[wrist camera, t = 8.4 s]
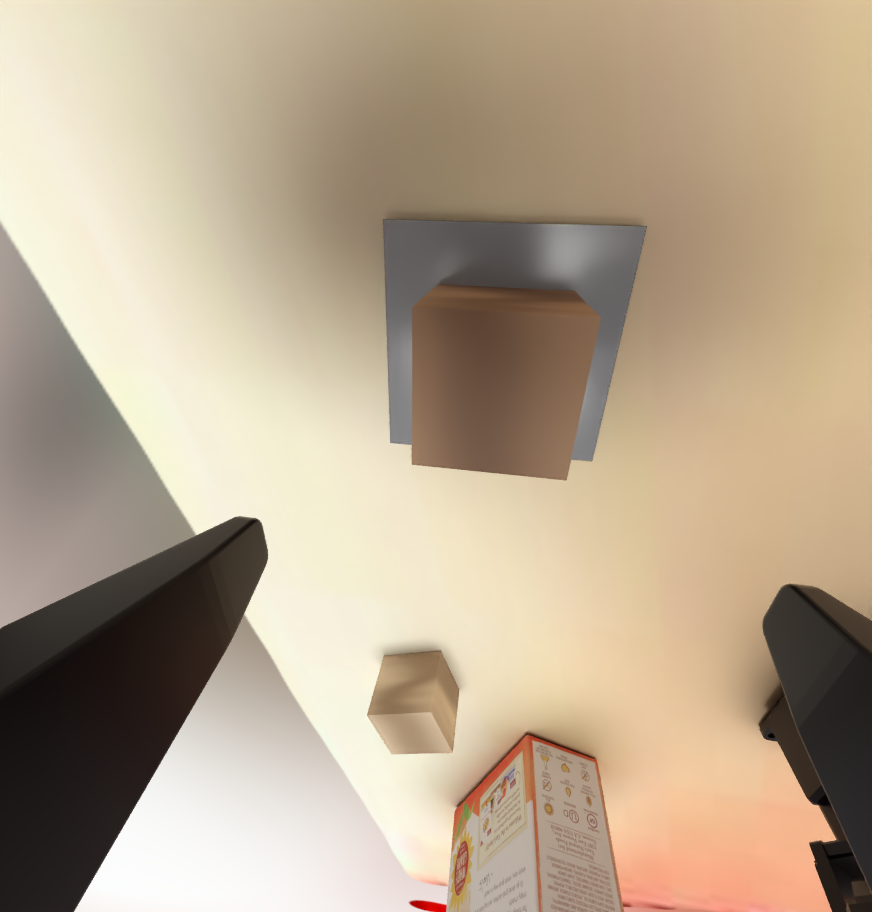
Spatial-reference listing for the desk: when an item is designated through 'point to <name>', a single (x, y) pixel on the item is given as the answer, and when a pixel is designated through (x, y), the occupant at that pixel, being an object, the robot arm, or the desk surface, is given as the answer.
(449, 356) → the walnut cube
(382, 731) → the oak block
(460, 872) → the cracker box
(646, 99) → the desk surface
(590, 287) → the slate coaster
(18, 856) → the robot arm
